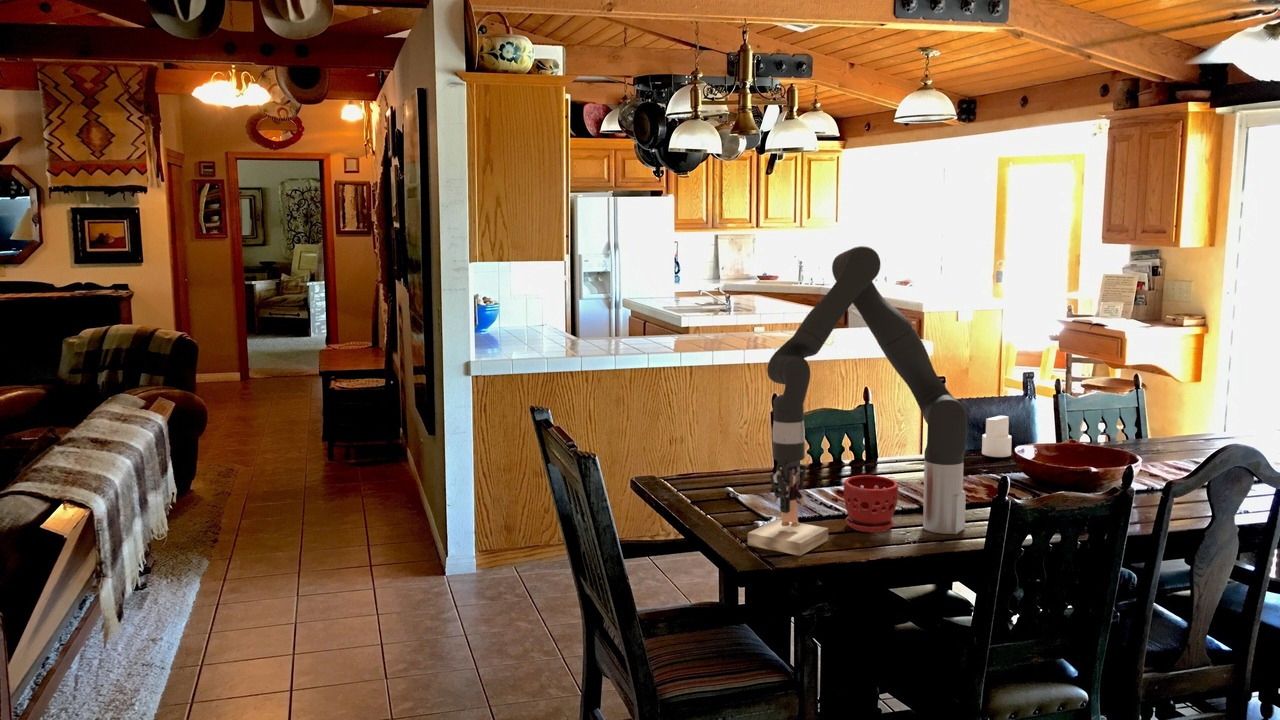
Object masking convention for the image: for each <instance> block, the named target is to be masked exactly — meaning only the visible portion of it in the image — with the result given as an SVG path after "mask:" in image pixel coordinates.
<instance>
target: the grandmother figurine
mask: <svg viewBox="0 0 1280 720" xmlns="http://www.w3.org/2000/svg"><path fill="white" fill-rule="evenodd" d="M795 480H796V477H795V475H794V476H793V486H794V484H795ZM783 483H785V484H788V483H787V482H783ZM793 486H792V487H793ZM778 491H779V489H778ZM785 491H786V487H785ZM796 497H797V501H796ZM779 499H780V496H777V495H775V493H774V496H773V498H772V500H771V501H772V503H776V502H777V500H779ZM798 500H799V502H800V505H801V506H805V505H806V502H805V500H804V497H803V494H802V493H801V492H800V490H799V491H798V490H797V489H796V488H790V512H788V513H784V512H781V511H780V512H781V513H780V514H781V520H782V523H781V525H782V526H789V525H790V524H789V522H792V524H791V526H792V527H797V526H800V523H801V522H799V515H798Z"/></svg>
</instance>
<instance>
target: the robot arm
mask: <svg viewBox="0 0 1280 720" xmlns="http://www.w3.org/2000/svg"><path fill="white" fill-rule="evenodd" d="M880 270H881V259H880V256H879V254H878V253H877V251H875V249H873V248H872V247H869V246H865V245H859V246H856V247H853V248H850V249H848V250H845V251H843V252H841V253H839V254H837V256H836V257H834V259H833V261H832V266H831V271H832V275H833V278H834V280H835V281H836V282H835V283H834V285H833V286H832V287H831V288H830V290H828V292H827V293H826V294H825V296H823V298H821V299H820V300H819V302H818V303H817V304H816V305H815V306H814V307H813V308H812V309H811V310H810V312H808V314H807V315H806V316H805V318H804V319H803V321H802V322H801V323H800V325H799V327H798V328H797V329H796V331H795V333H794V335H793V336H792V337H790V338H789V339H788V340H787V341H786V342H785V343H784V344H782V346H780V347H779V348H778V349H777V350H776V351H775V352H774V354H772V356H771V357H770V359H769V361H768V364H767V367H766V370H767V377H768V378H769V380H771V381H772V382H773V383H776V384H780V385H784V391H783V394H779V395H777V396H775V398H774V399H773V424H772V459H774V460H775V461H776V462H777V466H776V472H775V473H771V474H770V475H769V477H770V481H771V485H772V488H773V489H772V490H773V493H774V494H775V495H777V496H780V498H779V500H780V501H779V502H780V504H779V507H780V508H779V510H780V512H784V513H788V512H790V488H796V489H797V490H798V491H799V492H800V490H802V489H803V487H804V481H805V477H806V471H807V465H806V464H801V461H803V460H804V459H806V458H805V457H806V452H805V451H806V446H805V445H806V443H805V439H806V437H805V436H806V433H805V432H806V431H805V421H804V418H805V417H804V416H805V414H804V413H805V411H804V410H805V408H804V407H805V406H804V402H805V400H806V396H807V393H808V388H809V385H810V382H811V381H810V380H811V368H810V365H809V363H808V361H807V360H806V359H805V358H808V357H813V356H815V355H817V354H818V353H819V352H820V351H821V349H822V347H823V346H824V345H825V343H826V341H827V340H828V338H829V337H830V335H831V334H832V332H833V331H834V329H835V327H836V326H837V325H838V323H839V322H840V320H841V319H842V318H843V316H844V315H845V314H846V312H847V310H849V308H850V307H851V306H852V305H853V306H854V307H855V309H856V310H857V311H858V313H859V315H860V316H861V317H862V319H863V321H864V322H865V324H866V326H867V327H868V329H869V330H870V332H871V333H872V335H873V337H874V338H875V340H876V342H877V344H878V346H879V348H880V349H881V351H882V352H883V354H884V356H885V357H886V359H887V360H888V362H889V363H890V364H891V366H892V367H893V369H894V370H895V371H896V373H897V374H898V375H899V377H900V378H901V379H902V381H903V382H904V383H906V386H907V387H908V388H909V390H910V392H911V394H912V395H913V397H914V400H915V401H916V403H917V406H918V407H919V410H920V411H921V414H922V416H923V418H924V421H925V423H926V424H927V433H926V434H927V438H926V447H925V449H924V461H923V462H924V464H923V465H924V466H923V467H924V468H923V469H924V470H923V512H922V513H923V516H922V517H923V518H922V522H923V524H922V528H923V529H924V530H925V531H927V532H931V533H935V534H944V535H948V534H949V535H957V534H958V533H961V532H962V531H964V529H965V528H966V499H967V498H966V494H967V492H966V490H964V459H965V458H964V457H965V453H966V449H967V437H968V436H967V433H968V432H967V431H968V415H967V414H968V413H967V410H966V408H965V407H964V405H963V404H962V403H961V402H960V401H959V400H958V399H956V397H954V396H953V395H952V394H951V393H950V391H949V390H948V389H947V387H946V386H945V385H944V383H943V382H942V381H941V379H940V377H939V376H938V374H937V373H936V371H935V369H934V367H933V364H932V362H931V358H930V356H929V353H928V351H927V349H926V347H925V345H924V343H923V341H922V339H921V337H920V335H919V334H918V332H917V331H916V329H915V327H914V325H913V324H912V323H911V322H910V320H909V319H908V318H907V317H906V316H905V315H904V314H903V313H902V312H901V311H900V310H899V309H897V308H896V307H895V306H893V305H892V304H891V303H890V302H888V301H887V300H886V299H885V298H884V296H882V294H881V293H880V292H879V290H878V289H877V287H876V285H875V284H874V282H873V281H874V280H875V279H876V278H877V276H878V275H879V273H880ZM794 475H795V477H796V480H795V484H794V486H793V476H794ZM783 482H787V483H788V484H785V483H783ZM792 486H793V487H792ZM785 487H786V491H785ZM778 490H779V491H778ZM796 501H797V502H798V498H797V497H796Z"/></svg>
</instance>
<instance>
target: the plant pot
mask: <svg viewBox="0 0 1280 720" xmlns="http://www.w3.org/2000/svg"><path fill="white" fill-rule="evenodd" d="M862 486H863V487H862ZM875 487H877V488H875ZM898 497H899V483H898V482H897V481H896V480H894V479H892V478H889V477H886V476H880V475H871V474H869V475H868V474H863V475H862V474H860V475H854V476H850V477H847V478H845V480H844V482H843V499H844V506H845V510H846V513H847V515H848V516H847V517H846V518H845V522H846V524H847V525H848V526H849V528H851V529H852V530H856V531H859V532H863V533H882V532H886V531H888V530H890V529H892V528H893V526H894V520H893V515H894V513H895V510H896V508H897V503H898Z"/></svg>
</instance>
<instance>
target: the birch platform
mask: <svg viewBox="0 0 1280 720" xmlns="http://www.w3.org/2000/svg"><path fill="white" fill-rule="evenodd" d="M781 523H782V519H778V518H776V519H774V520H772V521H770V522H768V523H766V524H764V525H761V526H758V528H755V529H753V530H751V531H749V532H747V546H748V547H749V546H751V547H755V548H760V549H765V550H770V551H773V552H774V551H776V552H779V553H786V554H789V555H794V556H800V557H801V556H803V555H804V554H807V553H808V552H810V551H811V550H814V549H815V548H817V547H818V546H821V545H823V544H825V543H826V542H828V541H829V527H823V526H818V525H813V524H807V523H802V522H799V523H800V526H797V527H792V526H791V524H792V522H789V524H790V525H789V526H782V525H781Z"/></svg>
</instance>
